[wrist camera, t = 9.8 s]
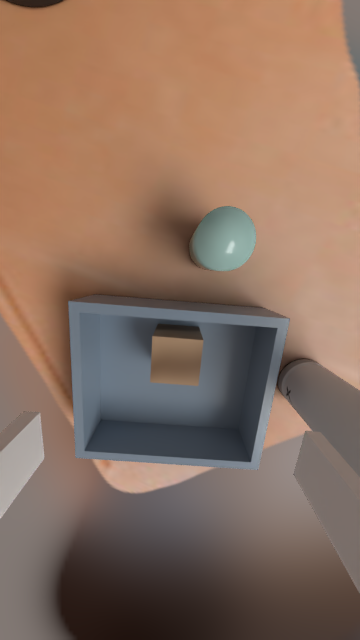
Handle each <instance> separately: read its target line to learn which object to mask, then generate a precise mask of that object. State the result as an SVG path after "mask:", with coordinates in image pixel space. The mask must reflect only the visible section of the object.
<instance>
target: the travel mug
mask: <svg viewBox="0 0 360 640" xmlns="http://www.w3.org/2000/svg"><path fill="white" fill-rule="evenodd" d="M278 387H279V390H280V392H281V393H282V395H283V396H284V397H285V398H286V399H287V400H288V402H289V403H290V404H291V405H292V407H293V408H294V409H295V410H296V411H297V413H298V414H299V415H300V416H301V417H302V419H303V420H304V421H305V422H306V423H307V425H308V426H309V427H310V428H311V429H312V431H314V432H321V433H322V434H323V436H324V437H325V438H326V439H327V440H328V441H329V443H330V444H331V445H332V446H333V447H334V448H335V449H336V451H337V452H338V453H339V454H340V455H341V456H342V457H343V459H344V460H345V461H346V462H347V463H348V464H349V466H350V467H351V468H352V469H353V470H354V471H355V472H356V474H357V475H358V476H359V477H360V391H359V390H358V389H356V388H355V387H353V386H352V385H350V384H349V383H347V382H346V381H344V380H343V379H341V378H340V377H338V376H337V375H335V374H334V373H332V372H331V371H329V370H328V369H326V368H324V367H323V366H322V365H320V364H319V363H317V362H315V361H313V360H309V359H300V360H296V361H293V362H291V363H290V364H288V365H287V366H286V367H285V368H284V369H283V370H282V372H281V373H280V376H279V380H278Z"/></svg>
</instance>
